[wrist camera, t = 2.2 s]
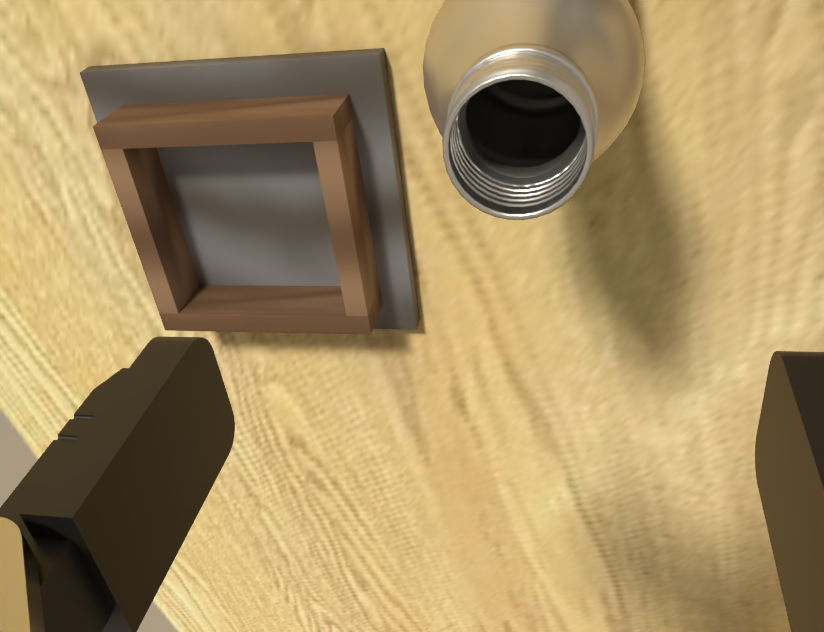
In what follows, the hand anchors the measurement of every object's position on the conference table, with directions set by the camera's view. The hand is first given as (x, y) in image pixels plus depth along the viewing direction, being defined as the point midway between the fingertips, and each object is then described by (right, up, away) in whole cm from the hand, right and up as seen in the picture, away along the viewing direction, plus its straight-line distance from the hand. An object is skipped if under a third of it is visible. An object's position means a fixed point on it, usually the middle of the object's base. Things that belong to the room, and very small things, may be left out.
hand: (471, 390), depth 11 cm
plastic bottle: (+5, +17, +23) cm, 29 cm away
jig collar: (-9, +8, +33) cm, 35 cm away
